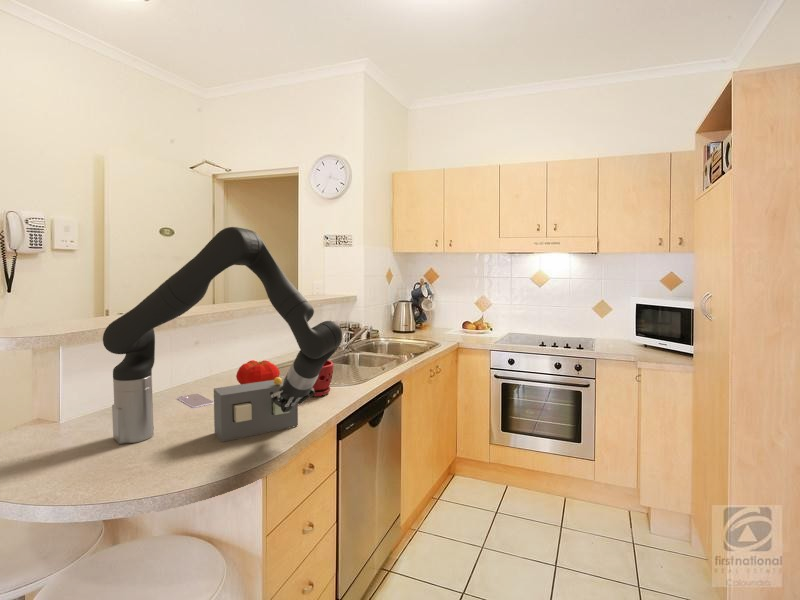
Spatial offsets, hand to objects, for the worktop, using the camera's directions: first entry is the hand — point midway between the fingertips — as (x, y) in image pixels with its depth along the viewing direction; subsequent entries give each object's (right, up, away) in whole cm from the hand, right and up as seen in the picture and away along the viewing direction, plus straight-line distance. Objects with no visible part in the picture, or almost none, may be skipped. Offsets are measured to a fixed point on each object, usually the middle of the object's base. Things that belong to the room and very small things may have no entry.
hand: (284, 409), depth 131 cm
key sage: (-2, -2, +4) cm, 5 cm away
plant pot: (+1, -4, +41) cm, 41 cm away
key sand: (-11, -2, -3) cm, 12 cm away
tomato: (-23, -3, +49) cm, 54 cm away
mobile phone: (-39, -5, +30) cm, 49 cm away
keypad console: (-9, -7, +4) cm, 12 cm away
